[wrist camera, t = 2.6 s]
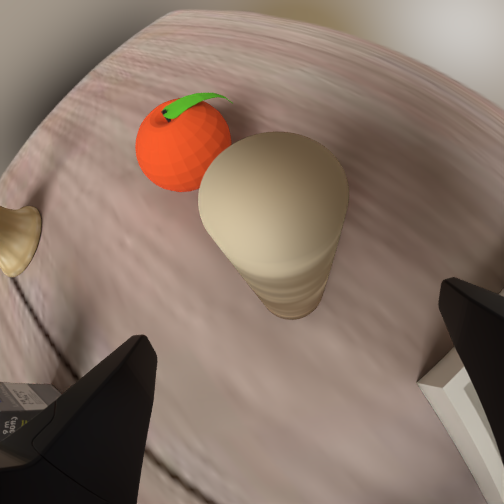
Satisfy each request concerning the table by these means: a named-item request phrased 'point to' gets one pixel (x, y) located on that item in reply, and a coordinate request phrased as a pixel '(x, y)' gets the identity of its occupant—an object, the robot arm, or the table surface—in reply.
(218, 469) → the table surface
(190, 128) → the clementine
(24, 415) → the label tape cartridge
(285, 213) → the peg
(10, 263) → the hand bell
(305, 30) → the table surface
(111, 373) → the robot arm
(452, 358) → the tray
